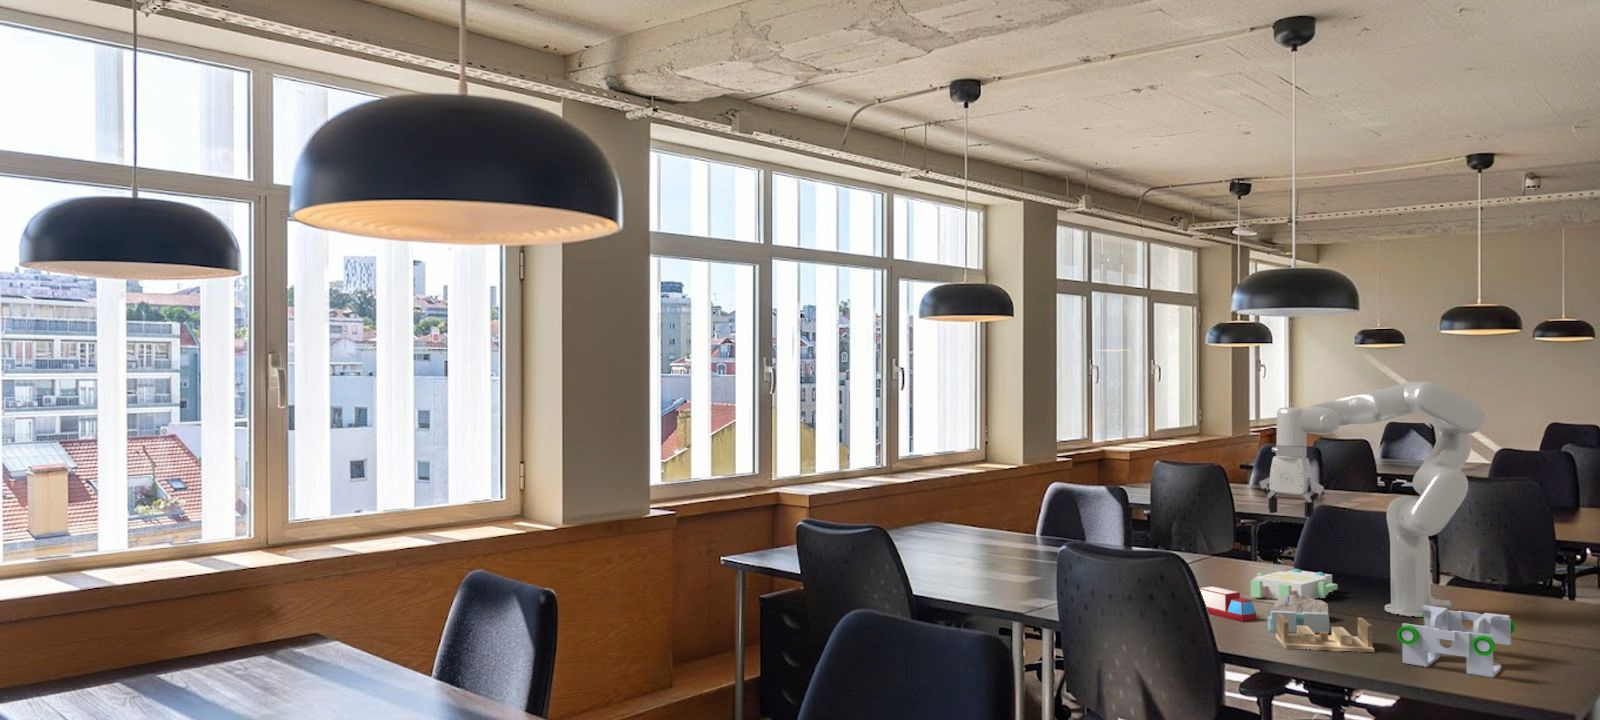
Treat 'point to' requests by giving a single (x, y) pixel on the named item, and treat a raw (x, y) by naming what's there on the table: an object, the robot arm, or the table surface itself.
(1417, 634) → the bracket
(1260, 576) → the decorative block
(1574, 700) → the table surface
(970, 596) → the table surface
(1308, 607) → the concrete fragment
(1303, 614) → the blocks in teal channel
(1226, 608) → the toy truck
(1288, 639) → the cradle
